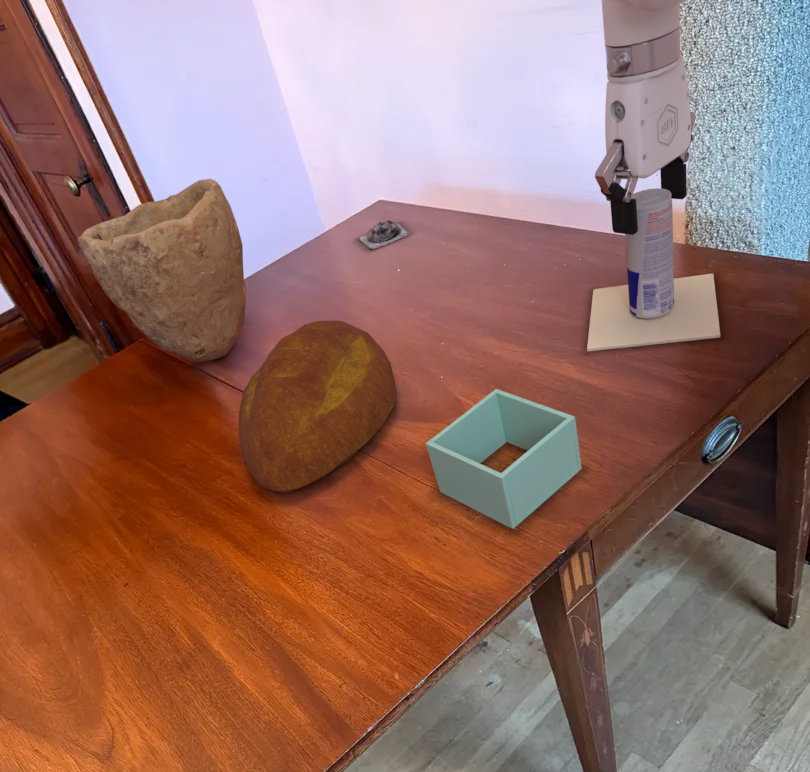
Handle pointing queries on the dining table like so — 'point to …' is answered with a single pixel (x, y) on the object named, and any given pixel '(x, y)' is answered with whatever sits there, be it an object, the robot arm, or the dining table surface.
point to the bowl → (175, 270)
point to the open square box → (524, 479)
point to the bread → (314, 404)
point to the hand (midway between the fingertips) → (650, 214)
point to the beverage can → (651, 255)
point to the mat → (682, 323)
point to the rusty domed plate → (383, 234)
